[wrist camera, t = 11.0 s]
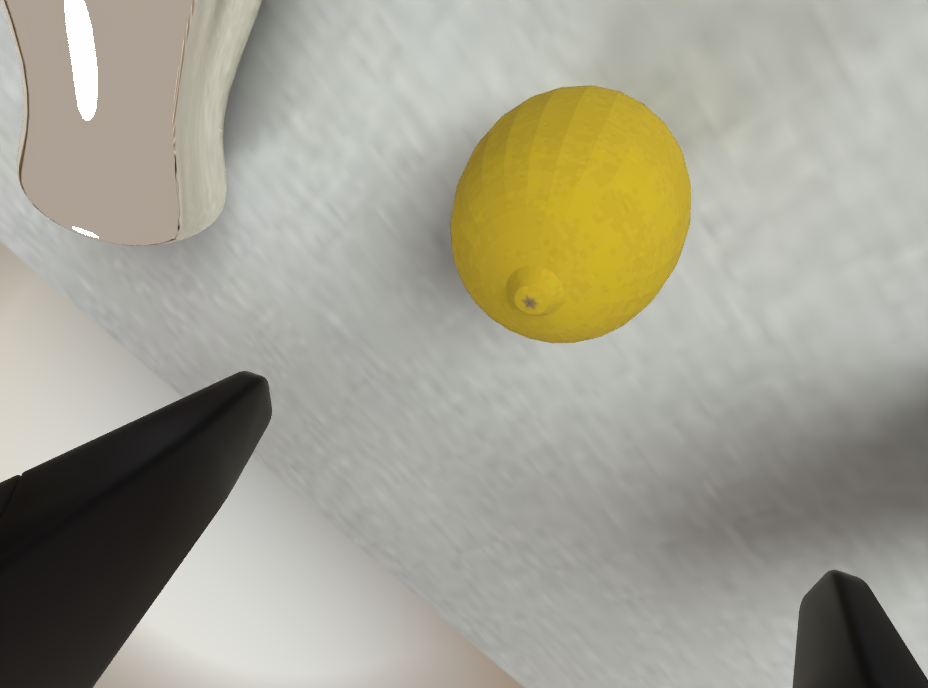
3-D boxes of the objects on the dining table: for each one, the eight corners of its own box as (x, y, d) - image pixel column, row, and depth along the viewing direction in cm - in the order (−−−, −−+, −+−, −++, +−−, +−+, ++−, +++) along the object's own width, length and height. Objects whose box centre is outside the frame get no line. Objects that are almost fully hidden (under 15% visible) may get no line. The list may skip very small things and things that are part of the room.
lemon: (471, 118, 19) (349, 245, 13) (641, 4, 15) (582, 105, 10) (564, 262, 21) (496, 431, 15) (732, 188, 17) (731, 365, 12)
